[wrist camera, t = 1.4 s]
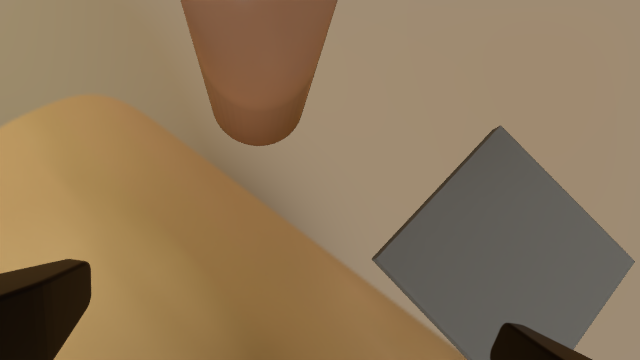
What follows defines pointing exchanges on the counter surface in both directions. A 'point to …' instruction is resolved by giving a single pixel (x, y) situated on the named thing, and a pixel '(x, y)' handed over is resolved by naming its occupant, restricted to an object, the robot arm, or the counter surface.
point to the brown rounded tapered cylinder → (258, 61)
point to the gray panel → (504, 253)
